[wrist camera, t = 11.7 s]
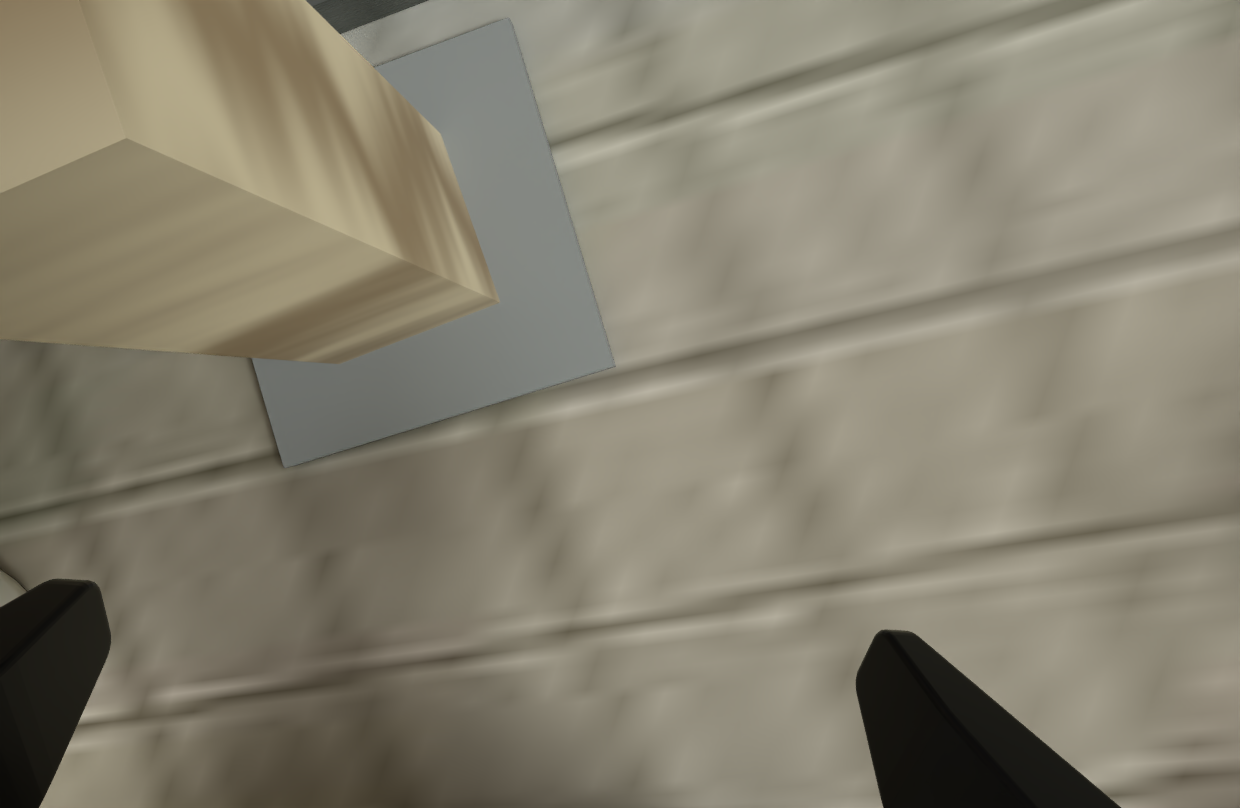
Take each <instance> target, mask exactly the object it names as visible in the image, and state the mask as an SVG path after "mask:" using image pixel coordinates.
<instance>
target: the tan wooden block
mask: <svg viewBox="0 0 1240 808" xmlns="http://www.w3.org/2000/svg"><path fill="white" fill-rule="evenodd" d="M497 303H500V300H499V298H498V295H497V292H496V289H495V286H494V283H493V281H492V278H491V275H490V272H489V269H488V266H487V264H486V261H485V258H484V255H483V252H482V249H481V247H480V244H479V241H478V238H477V235H476V232H475V230H474V227H473V224H472V221H471V218H470V215H469V213H468V210H467V207H466V204H465V201H464V198H463V196H462V193H461V190H460V187H459V184H458V182H457V179H456V176H455V173H454V170H453V167H452V165H451V162H450V159H449V156H448V153H447V150H446V148H445V145H444V142H443V139H442V136H441V134H440V133H439V132H438V131H437V130H436V129H435V128H434V127H433V126H432V125H431V124H430V123H429V122H428V121H427V120H426V119H425V118H424V117H423V116H422V115H421V114H420V113H419V112H418V111H417V110H416V109H415V108H414V107H413V106H412V105H411V104H410V103H409V102H408V101H407V100H406V99H405V98H404V97H403V96H402V95H401V94H400V93H399V92H398V91H397V90H396V89H395V88H394V87H393V86H392V85H391V84H390V83H389V82H388V81H387V80H386V79H385V78H384V77H383V76H382V75H381V74H380V73H379V72H378V71H377V70H376V69H375V68H374V67H373V66H372V65H371V64H370V63H369V62H368V61H367V60H366V59H365V58H363V57H362V56H361V55H360V54H359V53H358V52H357V51H356V50H355V49H354V48H353V47H352V46H351V45H350V44H349V43H348V42H347V41H346V40H345V39H344V38H343V37H342V36H341V35H340V34H339V33H338V32H337V31H336V30H335V29H334V28H333V27H332V26H331V25H330V24H329V23H328V22H327V21H326V20H325V19H324V18H323V17H322V16H321V15H320V14H319V13H318V12H317V11H316V10H315V9H314V8H313V7H312V6H311V5H310V4H309V3H308V2H307V1H306V0H0V339H2V340H16V341H30V342H43V343H57V344H71V345H84V346H98V347H111V348H125V349H139V350H152V351H166V352H180V353H193V354H207V355H221V356H234V357H248V358H261V359H275V360H289V361H302V362H316V363H330V364H341V363H343V362H346V361H349V360H351V359H354V358H357V357H359V356H362V355H364V354H367V353H370V352H372V351H375V350H377V349H380V348H383V347H385V346H388V345H390V344H393V343H396V342H398V341H401V340H404V339H406V338H409V337H411V336H414V335H417V334H419V333H422V332H424V331H427V330H430V329H432V328H435V327H437V326H440V325H443V324H445V323H448V322H451V321H453V320H456V319H458V318H461V317H464V316H466V315H469V314H471V313H474V312H477V311H479V310H482V309H484V308H487V307H490V306H492V305H495V304H497Z"/></svg>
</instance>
